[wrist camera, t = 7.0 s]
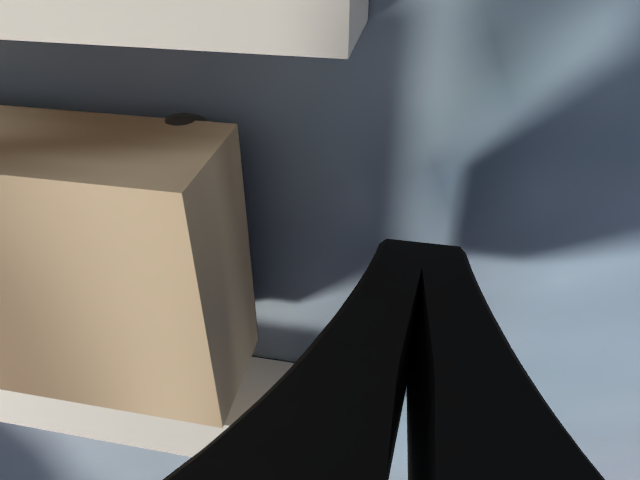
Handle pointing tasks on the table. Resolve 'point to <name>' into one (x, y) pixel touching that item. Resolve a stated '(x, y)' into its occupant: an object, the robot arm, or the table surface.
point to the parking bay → (181, 34)
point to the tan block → (124, 262)
